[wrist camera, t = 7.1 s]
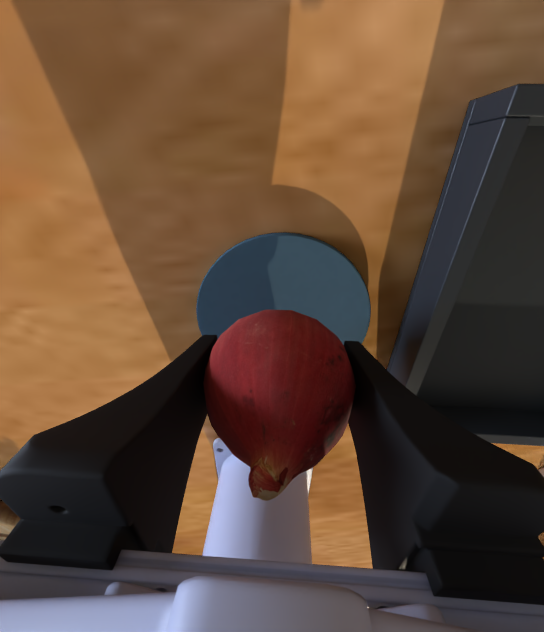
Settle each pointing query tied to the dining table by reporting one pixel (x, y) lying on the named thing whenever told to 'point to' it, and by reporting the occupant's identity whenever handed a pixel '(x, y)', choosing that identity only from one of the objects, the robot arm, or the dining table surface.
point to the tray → (484, 278)
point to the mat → (285, 285)
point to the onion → (278, 395)
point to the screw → (541, 471)
